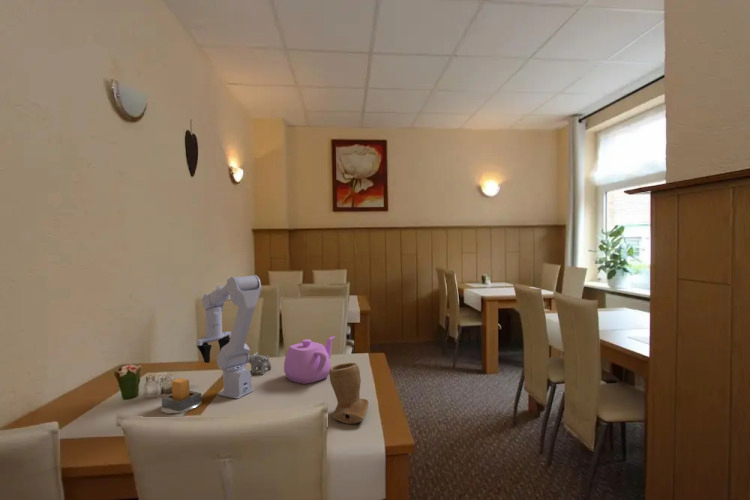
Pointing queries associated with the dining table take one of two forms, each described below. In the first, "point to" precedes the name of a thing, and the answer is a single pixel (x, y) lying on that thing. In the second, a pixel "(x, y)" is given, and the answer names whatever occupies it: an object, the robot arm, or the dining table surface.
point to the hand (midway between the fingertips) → (215, 359)
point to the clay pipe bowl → (348, 393)
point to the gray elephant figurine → (259, 363)
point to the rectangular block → (180, 389)
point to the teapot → (308, 361)
